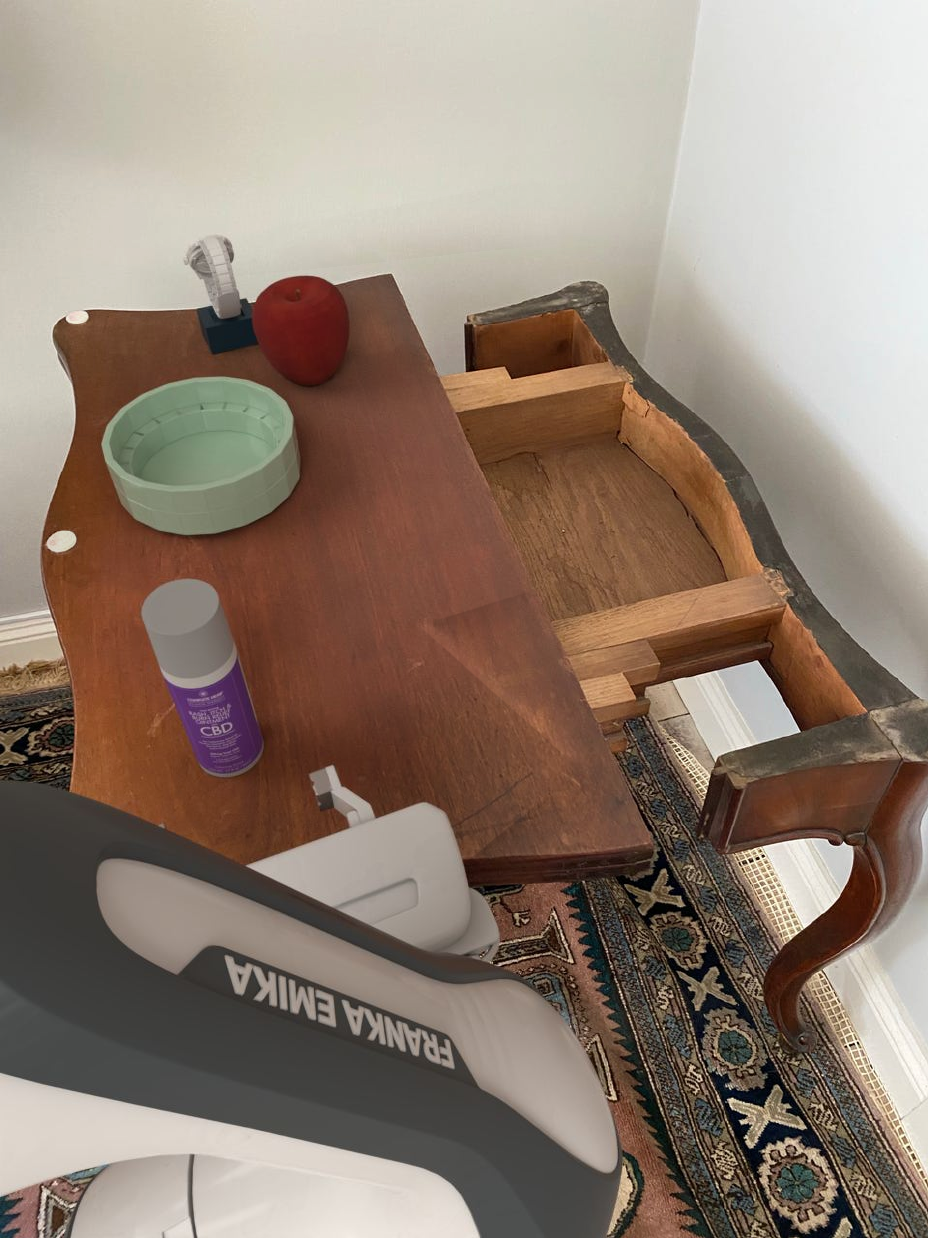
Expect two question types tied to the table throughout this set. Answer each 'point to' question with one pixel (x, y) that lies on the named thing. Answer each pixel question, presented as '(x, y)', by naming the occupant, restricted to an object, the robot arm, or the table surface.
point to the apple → (302, 328)
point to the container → (204, 675)
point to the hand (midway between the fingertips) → (239, 802)
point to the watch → (220, 295)
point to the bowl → (203, 455)
